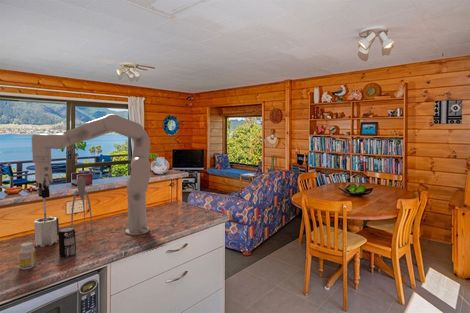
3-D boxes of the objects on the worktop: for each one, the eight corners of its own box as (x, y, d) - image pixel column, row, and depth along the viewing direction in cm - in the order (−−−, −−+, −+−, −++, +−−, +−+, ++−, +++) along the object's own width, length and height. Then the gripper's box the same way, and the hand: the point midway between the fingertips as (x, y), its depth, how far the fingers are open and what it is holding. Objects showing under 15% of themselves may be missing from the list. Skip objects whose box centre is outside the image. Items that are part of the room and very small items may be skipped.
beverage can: (63, 252, 134) (62, 226, 133) (78, 251, 134) (77, 226, 133) (56, 258, 127) (55, 231, 126) (72, 257, 128) (70, 231, 127)
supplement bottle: (26, 270, 116) (24, 247, 115) (17, 268, 118) (15, 245, 117) (39, 264, 121) (38, 242, 120) (30, 262, 123) (29, 240, 122)
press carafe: (46, 247, 138) (45, 223, 137) (30, 246, 140) (29, 222, 139) (65, 238, 150) (64, 216, 149) (50, 237, 151) (49, 214, 150)
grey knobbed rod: (54, 223, 143) (52, 188, 141) (40, 226, 138) (38, 189, 137) (50, 220, 147) (48, 186, 145) (36, 223, 142) (34, 188, 141)
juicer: (85, 231, 160) (83, 178, 157) (71, 230, 162) (69, 177, 159) (98, 225, 170) (96, 175, 167) (84, 224, 172) (82, 174, 169)
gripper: (57, 160, 137) (58, 198, 139) (45, 157, 148) (47, 193, 150) (38, 161, 131) (40, 201, 133) (27, 158, 142) (29, 195, 144)
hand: (44, 196), depth 141 cm, fingers closed on grey knobbed rod, 4 cm apart
